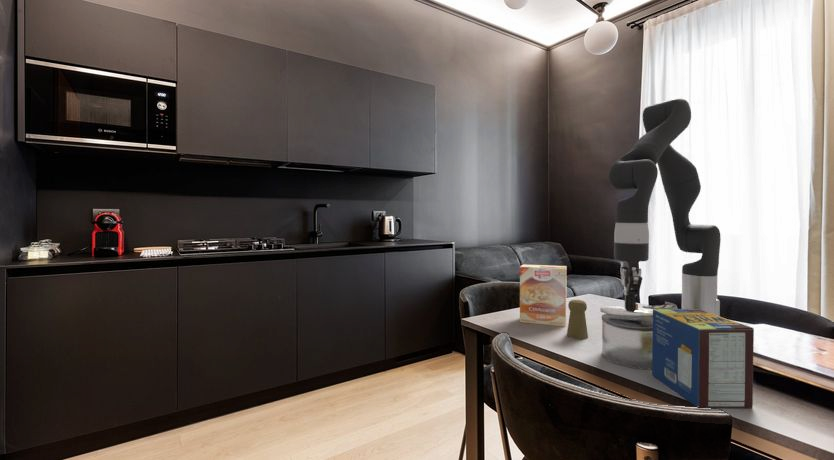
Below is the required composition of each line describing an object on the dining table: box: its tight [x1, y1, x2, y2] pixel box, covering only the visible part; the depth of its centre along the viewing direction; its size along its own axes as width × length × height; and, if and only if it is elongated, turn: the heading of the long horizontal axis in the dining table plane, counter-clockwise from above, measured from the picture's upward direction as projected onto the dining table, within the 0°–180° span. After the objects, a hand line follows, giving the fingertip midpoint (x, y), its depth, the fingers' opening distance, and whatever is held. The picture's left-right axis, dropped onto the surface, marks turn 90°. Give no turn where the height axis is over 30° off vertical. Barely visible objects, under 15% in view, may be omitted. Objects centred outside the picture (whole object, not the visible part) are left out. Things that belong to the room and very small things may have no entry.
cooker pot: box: [601, 313, 653, 370], centre depth 98 cm, size 14×14×10 cm
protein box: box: [651, 308, 755, 409], centre depth 80 cm, size 10×15×16 cm
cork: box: [566, 299, 589, 340], centre depth 116 cm, size 6×6×11 cm
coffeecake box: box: [519, 263, 568, 328], centre depth 131 cm, size 15×7×20 cm, turn 67°
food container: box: [642, 301, 679, 309], centre depth 112 cm, size 12×6×10 cm, turn 117°
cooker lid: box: [599, 302, 653, 318], centre depth 98 cm, size 15×15×3 cm
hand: (630, 310), depth 95 cm, fingers closed
